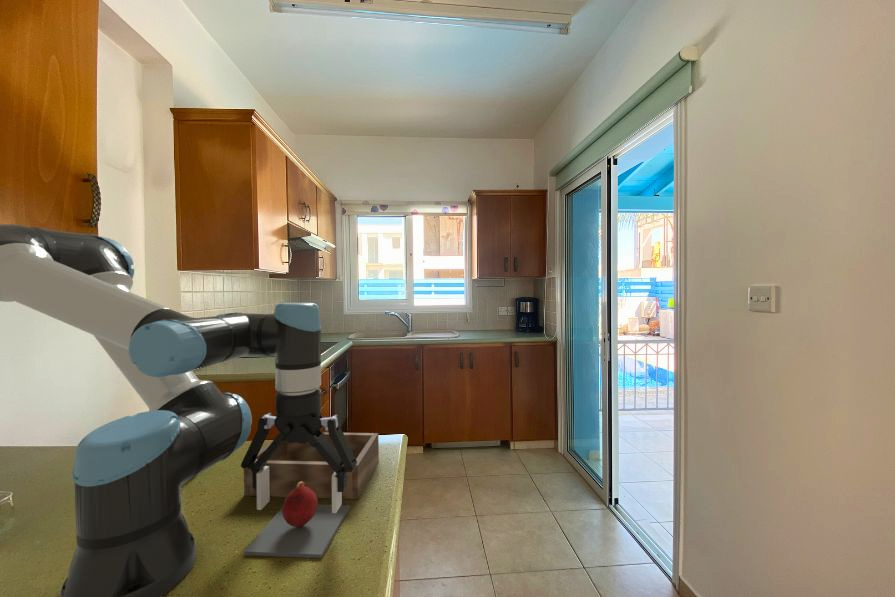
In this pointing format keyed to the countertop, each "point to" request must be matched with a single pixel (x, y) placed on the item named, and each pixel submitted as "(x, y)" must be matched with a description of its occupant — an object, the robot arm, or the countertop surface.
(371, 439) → the box
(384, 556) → the countertop surface
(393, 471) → the countertop surface
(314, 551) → the mat
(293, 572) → the countertop surface
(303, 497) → the onion
